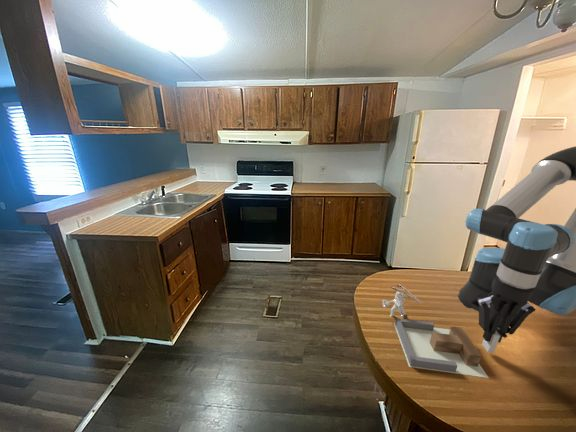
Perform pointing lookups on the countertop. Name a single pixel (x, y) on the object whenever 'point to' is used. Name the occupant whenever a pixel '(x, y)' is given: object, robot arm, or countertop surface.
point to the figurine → (396, 304)
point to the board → (430, 349)
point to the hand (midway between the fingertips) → (487, 348)
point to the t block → (456, 345)
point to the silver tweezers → (406, 294)
